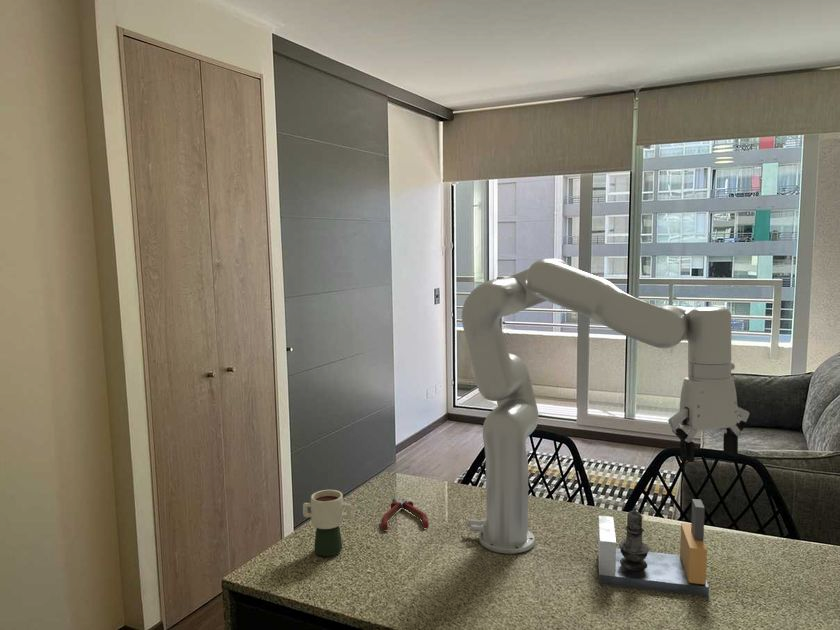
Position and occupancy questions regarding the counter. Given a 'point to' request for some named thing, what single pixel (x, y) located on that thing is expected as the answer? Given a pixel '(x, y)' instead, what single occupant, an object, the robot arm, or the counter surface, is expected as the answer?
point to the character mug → (327, 520)
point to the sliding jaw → (694, 545)
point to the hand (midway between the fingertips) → (709, 457)
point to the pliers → (406, 505)
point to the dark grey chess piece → (634, 543)
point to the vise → (658, 575)
